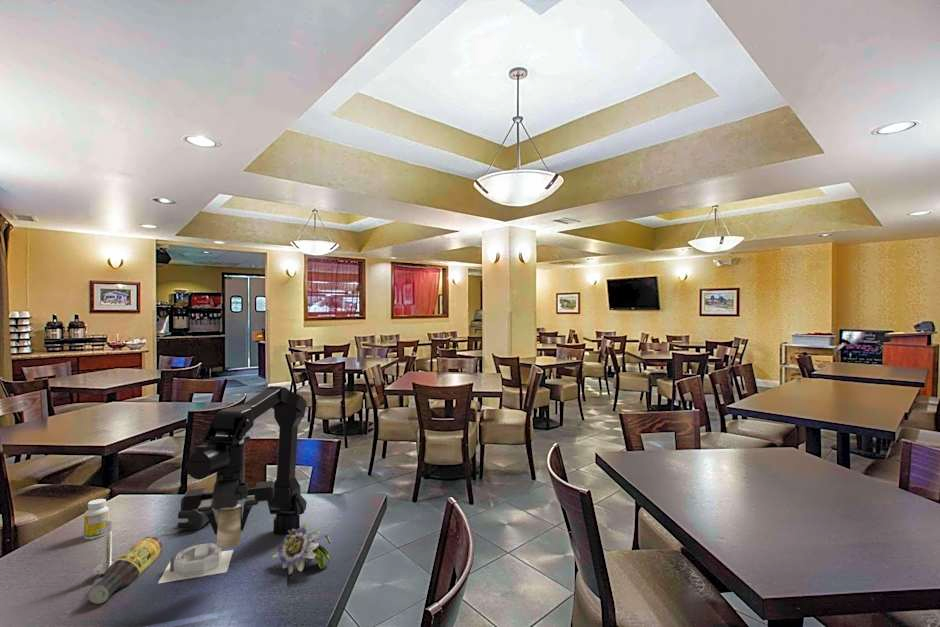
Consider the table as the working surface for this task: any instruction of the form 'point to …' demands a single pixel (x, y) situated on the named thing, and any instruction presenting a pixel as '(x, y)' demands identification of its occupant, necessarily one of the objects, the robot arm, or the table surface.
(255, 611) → the table surface
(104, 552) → the graduated cylinder
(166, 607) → the table surface
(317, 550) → the passion flower
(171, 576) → the base plate
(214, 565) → the white faceted ring
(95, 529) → the supplement bottle
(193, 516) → the end cap
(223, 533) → the maple peg
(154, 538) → the sauce bottle
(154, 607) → the table surface
